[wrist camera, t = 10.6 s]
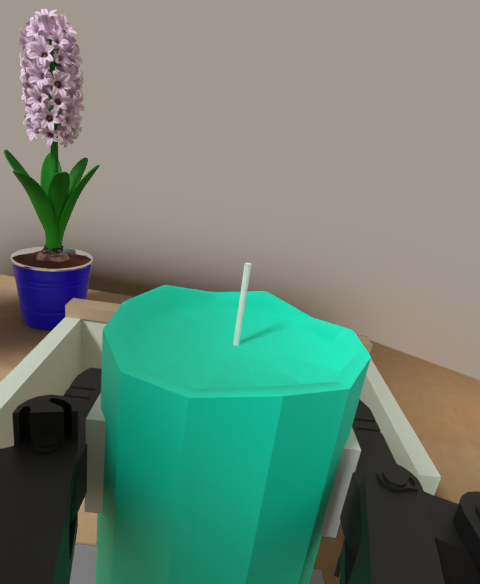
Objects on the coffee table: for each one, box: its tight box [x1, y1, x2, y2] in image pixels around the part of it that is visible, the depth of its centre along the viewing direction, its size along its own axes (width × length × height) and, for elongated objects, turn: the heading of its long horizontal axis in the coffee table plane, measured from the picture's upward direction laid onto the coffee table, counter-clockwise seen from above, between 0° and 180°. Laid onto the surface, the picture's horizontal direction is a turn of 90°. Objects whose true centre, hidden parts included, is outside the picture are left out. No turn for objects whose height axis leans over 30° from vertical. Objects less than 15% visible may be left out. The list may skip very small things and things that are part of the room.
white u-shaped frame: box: [0, 298, 441, 495], centre depth 29 cm, size 24×14×8 cm, turn 90°
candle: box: [96, 263, 371, 584], centre depth 11 cm, size 6×6×12 cm
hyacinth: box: [4, 9, 99, 330], centre depth 43 cm, size 9×10×30 cm
